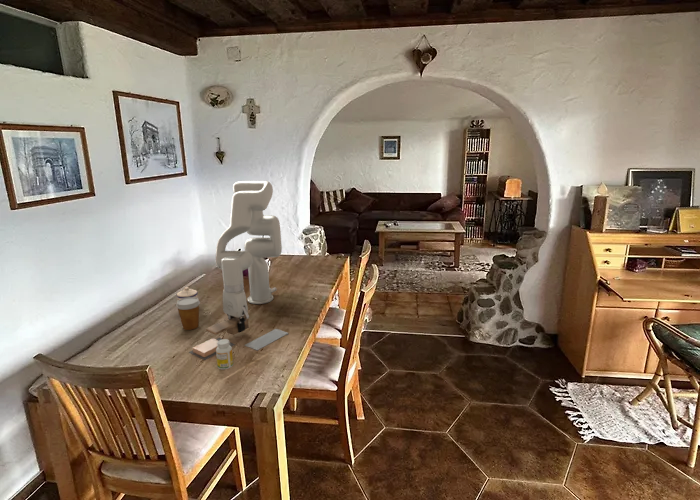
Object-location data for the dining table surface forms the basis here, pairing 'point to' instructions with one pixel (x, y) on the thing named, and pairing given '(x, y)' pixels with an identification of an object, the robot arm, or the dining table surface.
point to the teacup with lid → (187, 293)
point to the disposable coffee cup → (189, 312)
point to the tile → (206, 348)
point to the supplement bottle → (224, 354)
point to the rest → (266, 339)
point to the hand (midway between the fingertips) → (237, 329)
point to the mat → (211, 354)
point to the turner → (226, 326)
